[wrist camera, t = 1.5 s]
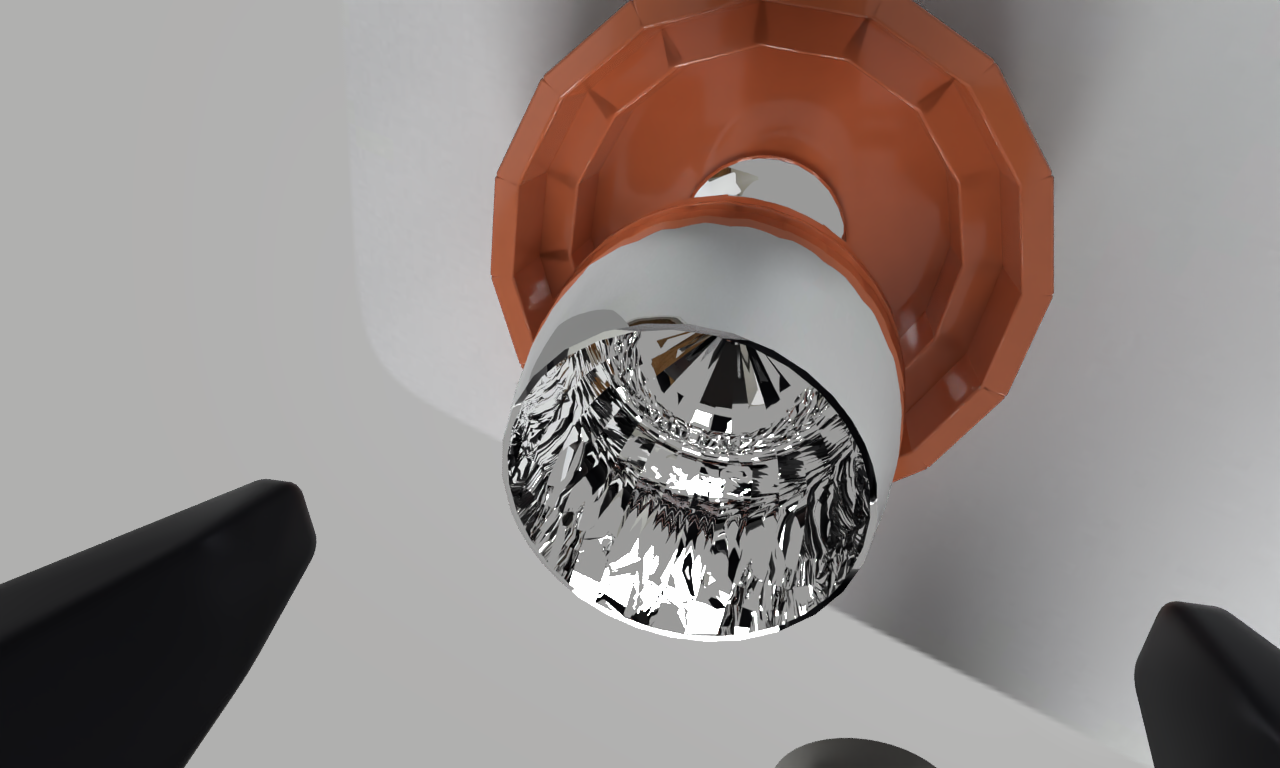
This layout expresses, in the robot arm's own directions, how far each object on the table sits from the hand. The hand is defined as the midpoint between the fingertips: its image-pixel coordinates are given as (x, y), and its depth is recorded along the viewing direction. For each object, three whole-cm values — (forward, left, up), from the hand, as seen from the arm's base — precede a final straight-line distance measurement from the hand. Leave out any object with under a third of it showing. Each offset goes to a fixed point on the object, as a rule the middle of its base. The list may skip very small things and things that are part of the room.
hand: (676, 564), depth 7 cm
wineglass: (0, 0, -13) cm, 13 cm away
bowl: (0, 0, -13) cm, 13 cm away
